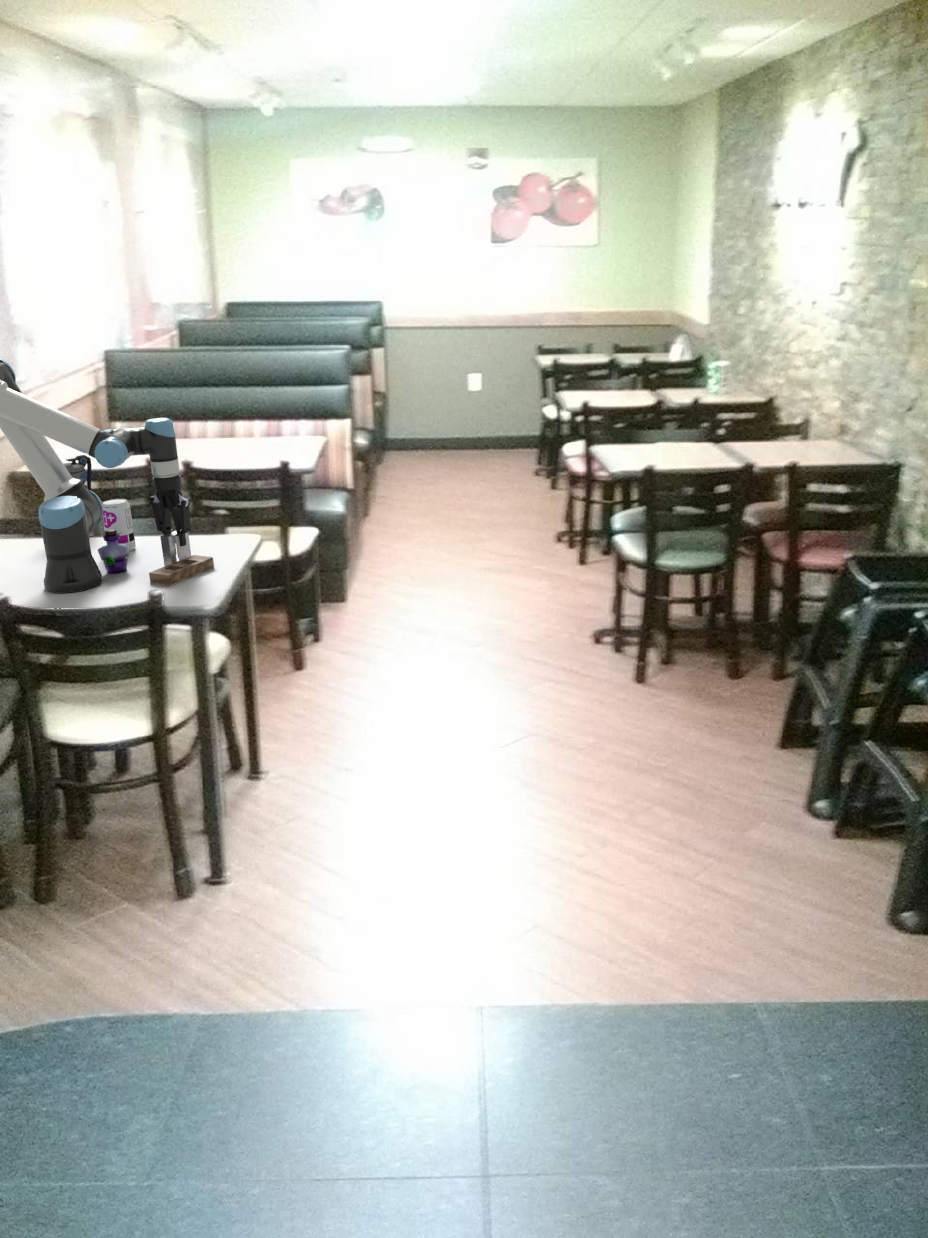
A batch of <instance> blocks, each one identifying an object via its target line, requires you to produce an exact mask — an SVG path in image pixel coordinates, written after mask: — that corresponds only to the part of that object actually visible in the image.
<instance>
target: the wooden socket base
mask: <svg viewBox="0 0 928 1238" xmlns="http://www.w3.org/2000/svg"><path fill="white" fill-rule="evenodd" d="M214 568H215V561H214V556H213V557H212V556H206V555H199V554H198V555H197V554H193V555H192V554H191V556H190V557H187V558H185V559H182V560H180V561H179V560H178V561H177V562H175V563H172V564H170V565H167V566H162V567H160V568H157V569H155V570H152V571H150V572H148V575H149V583H150V584H152V585H153V584H155V585H159V586H167V587H171V586H173V585H176V584H178V583H181V582H183V581H186V580H187V579H190V578H192V576H193V577H194V576H195V577H196V576H197V575H200V574H203V573H205V572H207V571H210V570H212V569H214ZM182 580H183V581H182ZM180 581H181V582H180ZM175 583H176V584H175ZM170 585H171V586H170Z"/></svg>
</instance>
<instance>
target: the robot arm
mask: <svg viewBox="0 0 928 1238" xmlns="http://www.w3.org/2000/svg"><path fill="white" fill-rule="evenodd" d="M16 378H17V376H16V374H15V370H14V369H13V367H12V366H11V365H10V364H9V362H7V361H6V360H5V359H3V358H1V357H0V430H1V432H2V433H3V434H4V436H5V438H7V440H8V442H9V443H10V445H11V446H12V447H13V449H14V450H15V452H16V454H17V455H18V456H19V458H20V459H21V462H23V464H24V465H25V467H26V468H27V469H28V470H29V473H30V474H31V475H32V477H33V478H34V479H35V481H36V483H37V484H38V485H39V487H40V488H41V489H42V491H43V493H44V498H43V502H42V503H41V504H40V506H39V507H38V521H39V523H40V531H41V535H42V540H43V546H44V551H45V553H44V554H45V557H46V563H45V564H46V565H45V573H44V578H43V585H44V586H43V587H44V590H45V591H47V592H49V593H54V594H55V593H56V594H58V593H59V594H66V593H74V592H75V593H76V592H82V591H86V590H89V589H93V588H95V587H98V586H99V585H100V584H102V583H103V576H102V572H101V570H100V569H99V566H98V565H97V562H96V560H95V558H94V556H93V554H92V549H91V543H90V537H89V534H90V533H92V532H93V531H94V530H96V529H97V527H98V526H99V525H100V523H101V521H102V520H103V518H102V516H103V501H102V500H101V498H100V497H99V495H97V494H96V492H94V491H92V490H91V491H90V490H88V489H86V487H85V486H84V484H85V483H84V484H83V483H82V481H81V480H80V479H75V478H73V477H72V476H71V475H70V473H69V472H68V470H67V469H66V467H65V466H64V464H63V461H62V460H61V459H60V457H59V455H58V454H57V453H56V451H55V450H54V448H53V447H52V445H51V444H50V442H49V441H48V439H47V438H49V439H51V440H54V441H55V442H59V443H61V444H63V445H65V446H67V447H69V448H71V449H74V450H76V451H77V452H80V453H83V454H84V455H86V456H88V457H91V458H93V459H95V460H96V461H97V463H98V464H99V465H100V466H102V467H104V468H106V469H114V468H115V469H116V467H119V466H121V465H122V464H124V463H125V461H127V460H128V459H129V458H130V457H131V456H134V457H135V456H146V455H147V456H149V460H150V470H151V475H152V476H153V477H152V483H153V489H154V490H155V491H156V492H155V495H153V496H149V498H148V500H149V502H150V504H151V506H152V507H151V508H152V512H153V516H154V523H155V525H156V530H157V532H161V533H162V535H165V534H168V533H170V532H173V531H174V529H172V519H173V523H174V524H173V525H174V527H175V531H176V532H177V534H175V535H176V536H175V539H176V544H175V552H176V556H177V559H179V558H182V557H184V556H187V555H186V548H185V545H186V537H185V534H186V533H188V534H189V533H191V517H190V515H191V514H190V513H191V512H190V505H191V499H190V498H185V497H184V496H183V494H182V492H181V488H182V487H183V486H182V485H183V484H182V477H181V475H180V474H179V473H180V472H181V471H180V470H181V469H180V463H179V456H178V447H177V440H176V439H177V438H176V433H175V428H174V427H175V426H174V422H173V420H172V419H170V418H168V417H157V418H156V417H155V418H149V419H147V420H145V421H144V426H141V427H127V428H126V427H125V428H124V427H123V428H122V427H121V428H120V427H119V428H118V427H114V428H109V429H104V430H103V429H101V428H99V427H97V426H94V425H92V424H89V423H87V422H86V421H83V420H81V419H79V418H76V417H75V416H72V415H69V414H67V413H65V412H63V411H60V410H59V409H58V408H57V409H56V408H54V407H52V406H50V405H47V404H45V403H43V402H41V401H39V400H37V399H34V398H32V397H30V396H28V395H26V394H23V392H22V390H21V389H20V388H19V386H18V385H17V381H16V380H17V379H16ZM46 437H47V438H46ZM92 530H93V531H92ZM91 531H92V532H91Z"/></svg>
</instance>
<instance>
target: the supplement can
mask: <svg viewBox="0 0 928 1238" xmlns="http://www.w3.org/2000/svg"><path fill="white" fill-rule="evenodd" d="M102 505H103V516H102V523H103V528H104V529H103V530H104V532H105V531H107V530H117V533H118V534H119V535H120V539H118V544H126V545H128V546H129V553H130V552H133V551H134V550H135V549H136V547H137V546H136V539H135V532H134V525H133V518H132V512H131V504H130V503H129V502H128V499H126V498H114V499H109V500H108V499H107V500H105V501H102ZM105 543H106V544H107V541H105Z"/></svg>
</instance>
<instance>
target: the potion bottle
mask: <svg viewBox="0 0 928 1238" xmlns="http://www.w3.org/2000/svg"><path fill="white" fill-rule="evenodd" d="M102 538H103V541H105V542H106V541H107V543H106V544H105V545H102V546H101V547H99V548H97V552H98V554H99V557H100V560H101V561H102V562H103V565H104V566H105V567H104V568H105V570H106V573H107V574H108V575H118V574H124V573H125V572H127V571H128V570H127V569H128V568H127V567H128V557H129V555H130V554H129V553H130V552H129V546H128V545H126V544H118V539H120V535H119V534H118V533H117V530H107V531H105V530H104V534H103V536H102Z"/></svg>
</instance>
